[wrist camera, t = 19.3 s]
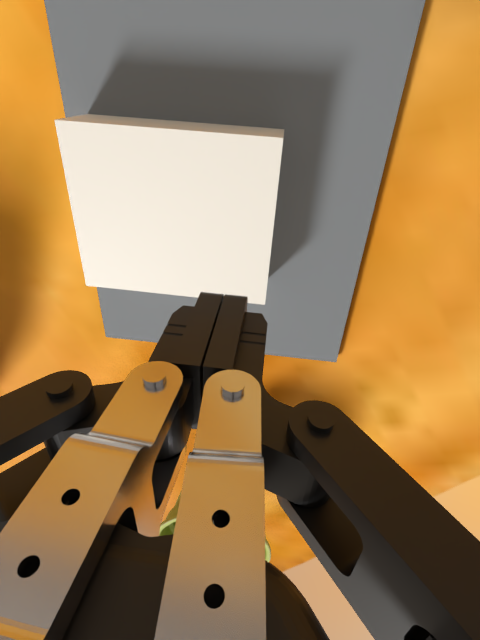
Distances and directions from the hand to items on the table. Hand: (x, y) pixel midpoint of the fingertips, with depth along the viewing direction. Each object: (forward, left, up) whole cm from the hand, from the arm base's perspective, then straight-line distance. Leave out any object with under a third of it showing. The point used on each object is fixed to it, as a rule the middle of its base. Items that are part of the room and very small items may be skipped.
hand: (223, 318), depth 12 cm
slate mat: (0, -2, -13) cm, 13 cm away
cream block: (0, +1, -11) cm, 11 cm away
